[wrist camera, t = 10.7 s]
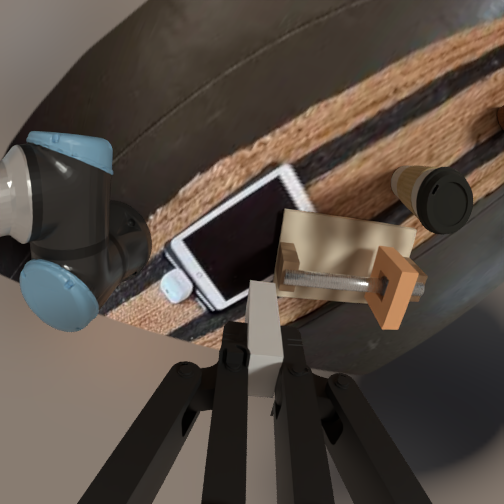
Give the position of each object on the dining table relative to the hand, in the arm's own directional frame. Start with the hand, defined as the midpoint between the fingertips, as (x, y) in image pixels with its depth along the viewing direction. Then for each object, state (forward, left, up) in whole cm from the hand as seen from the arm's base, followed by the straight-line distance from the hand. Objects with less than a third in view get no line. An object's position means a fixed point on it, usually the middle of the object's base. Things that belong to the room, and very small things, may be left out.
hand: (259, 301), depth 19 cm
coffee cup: (+26, +5, -35) cm, 43 cm away
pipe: (+17, -11, -27) cm, 34 cm away
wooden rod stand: (+17, -11, -34) cm, 40 cm away
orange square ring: (+23, -11, -30) cm, 39 cm away
